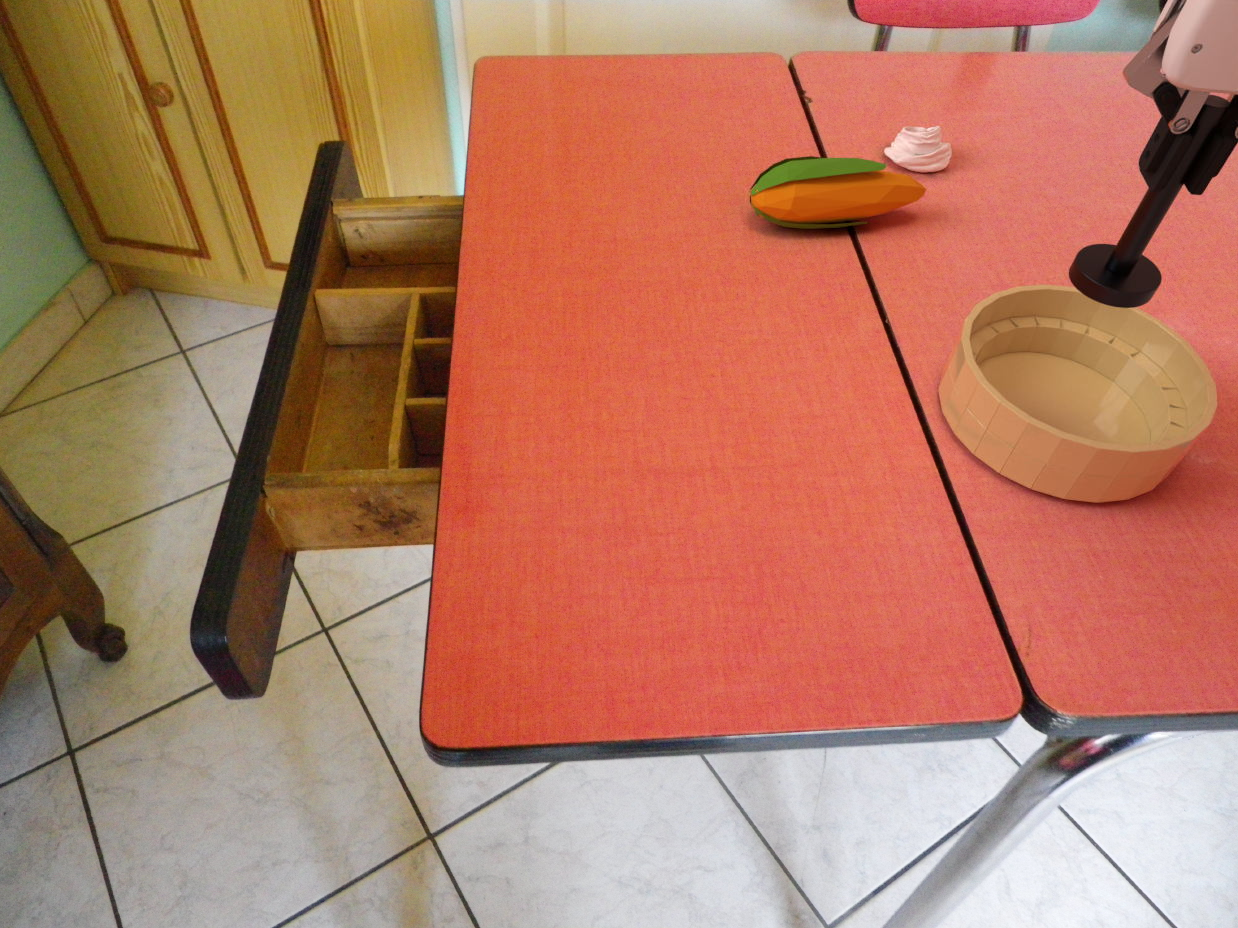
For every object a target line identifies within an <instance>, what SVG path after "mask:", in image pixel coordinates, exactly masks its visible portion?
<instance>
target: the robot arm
mask: <svg viewBox="0 0 1238 928" xmlns="http://www.w3.org/2000/svg"><path fill="white" fill-rule="evenodd" d="M1161 71H1163V73H1162V72H1161ZM1122 76H1123V78H1124V80H1125V81H1126V83H1127V86H1129V87H1130V88H1132V89H1134V90H1136V91H1137V92H1138V93H1141V94H1142V95H1144V96H1146V97H1147V98H1150V99H1152V100H1153V102H1154V104H1155V106H1156V109H1157V111H1158V112H1159V114H1160V116H1161V117H1160V118H1159V120H1158V122H1157V124H1156V126H1155V127H1154V129H1153V131H1152V133H1151V135H1150V137H1149V139H1148V141H1147V143H1146V144H1145V146H1144V148H1143V150H1142V151H1141V154H1140V155H1139V159H1138V169H1139V173H1140V175H1141V176H1142V178H1143V180H1144V181H1145V184H1146V185H1147V188H1149V189H1150V191H1156V192H1160V191H1161V190H1164V189H1165V187H1166V186H1167V184H1168V182H1169V181H1170V179H1171V177H1172V175H1173V174H1174V172H1175V170H1176V168H1177V167H1178V165H1179V163H1180V162H1181V160H1182V158H1183V156H1184V155H1185V153H1186V151H1187V150H1188V148H1189V146H1190V144H1191V143H1192V140H1193V137H1192V135H1191V133H1190V132H1189V129H1190V127H1191V126H1192V124H1193V122H1194V120H1195V119H1196V117H1197V115H1198V113H1199V112H1200V110H1201V108H1202V106H1203V104H1204V103H1205V101H1206V99H1207V97H1208V96H1209V95H1211V93H1212V94H1213V93H1214V94H1225V95H1226V94H1227V95H1228V96H1227V98H1226V100H1227V101H1229V103H1230V107H1229V109H1228V111H1227V112H1226V114H1225V116H1224V117H1223V119H1222V121H1221V123H1220V124H1219V126H1218V128H1217V129H1216V131H1215V133H1214V134H1213V136H1212V138H1211V139H1210V141H1209V143H1208V144H1207V146H1206V148H1205V149H1204V151H1203V153H1202V154H1201V156H1200V158H1199V159H1198V161H1197V163H1196V164H1195V166H1194V168H1193V170H1192V171H1191V173H1190V175H1189V176H1188V178H1187V180H1186V181H1185V183H1184V185H1183V186H1184V187H1185V188H1186V190H1187V192H1188V193H1189V194H1190V195H1191V196H1193V195H1194V196H1202V195H1203V194H1204V193H1205V191H1206V189H1207V188H1208V186H1209V184H1210V183H1211V181H1212V180H1213V179H1214V178H1216V177H1217V176H1218V175H1219V174H1220V172H1221V171H1222V169H1223V167H1224V166H1225V164H1226V162H1227V161H1228V159H1229V158H1230V156H1231V155H1232V153H1233V151H1234V150H1235V148H1236V147H1237V145H1238V0H1167V2H1166V3H1165V5H1164V7H1163V9H1162V11H1161V13H1160V14H1159V17H1158V19H1157V21H1156V23H1155V25H1154V27H1153V30H1152V32H1151V34H1150V37H1149V40H1148V42H1146V43H1145V45H1144V46H1143V47H1142V48H1141V49H1139V52H1137V54H1135V56H1134V57H1133V58H1132V59H1131V60H1130V61H1129V62H1128V63H1127V64H1126V65H1125V66H1124V68H1123V70H1122Z"/></svg>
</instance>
